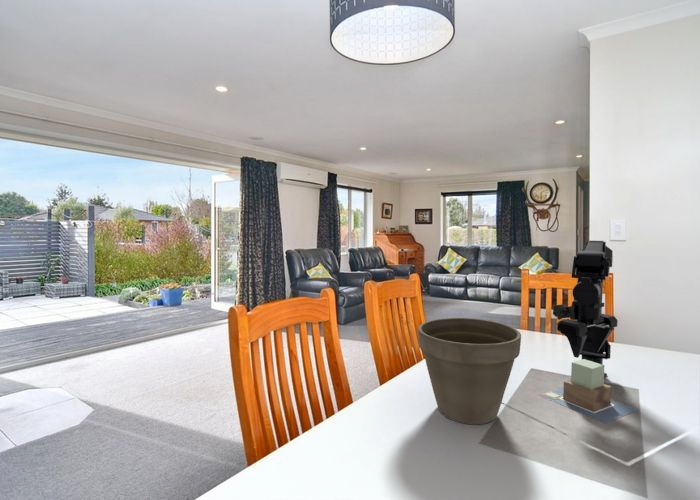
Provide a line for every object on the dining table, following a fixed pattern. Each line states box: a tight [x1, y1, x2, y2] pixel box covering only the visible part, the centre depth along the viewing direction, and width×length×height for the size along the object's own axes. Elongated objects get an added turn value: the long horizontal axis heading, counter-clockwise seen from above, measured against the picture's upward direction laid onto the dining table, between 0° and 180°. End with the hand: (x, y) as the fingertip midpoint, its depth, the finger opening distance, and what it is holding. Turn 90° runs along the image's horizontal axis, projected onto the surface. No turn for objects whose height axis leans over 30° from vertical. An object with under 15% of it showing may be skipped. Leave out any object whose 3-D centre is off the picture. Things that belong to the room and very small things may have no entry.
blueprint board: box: [538, 386, 639, 424], centre depth 107 cm, size 15×18×1 cm
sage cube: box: [570, 358, 605, 389], centre depth 106 cm, size 6×6×6 cm
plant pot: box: [417, 317, 522, 425], centre depth 101 cm, size 25×25×22 cm
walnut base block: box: [563, 378, 612, 411], centre depth 106 cm, size 8×8×5 cm
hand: (586, 354), depth 109 cm, fingers open, 9 cm apart
